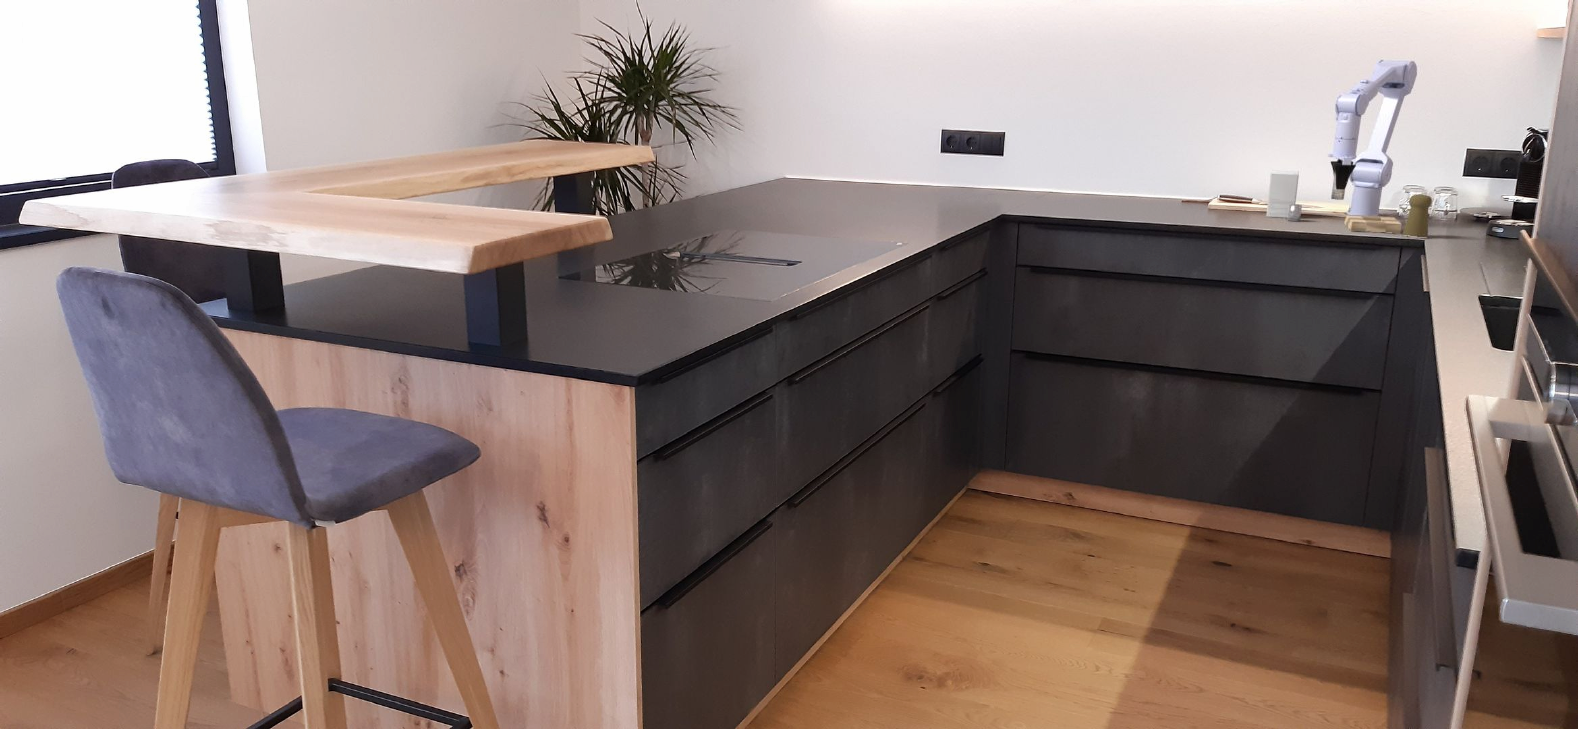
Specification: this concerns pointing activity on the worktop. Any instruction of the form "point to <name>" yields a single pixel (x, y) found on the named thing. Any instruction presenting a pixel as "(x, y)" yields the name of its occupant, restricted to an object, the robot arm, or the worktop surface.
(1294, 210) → the short pin
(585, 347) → the worktop surface
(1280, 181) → the supplement box
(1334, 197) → the long pin
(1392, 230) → the oak frame
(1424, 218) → the cork
